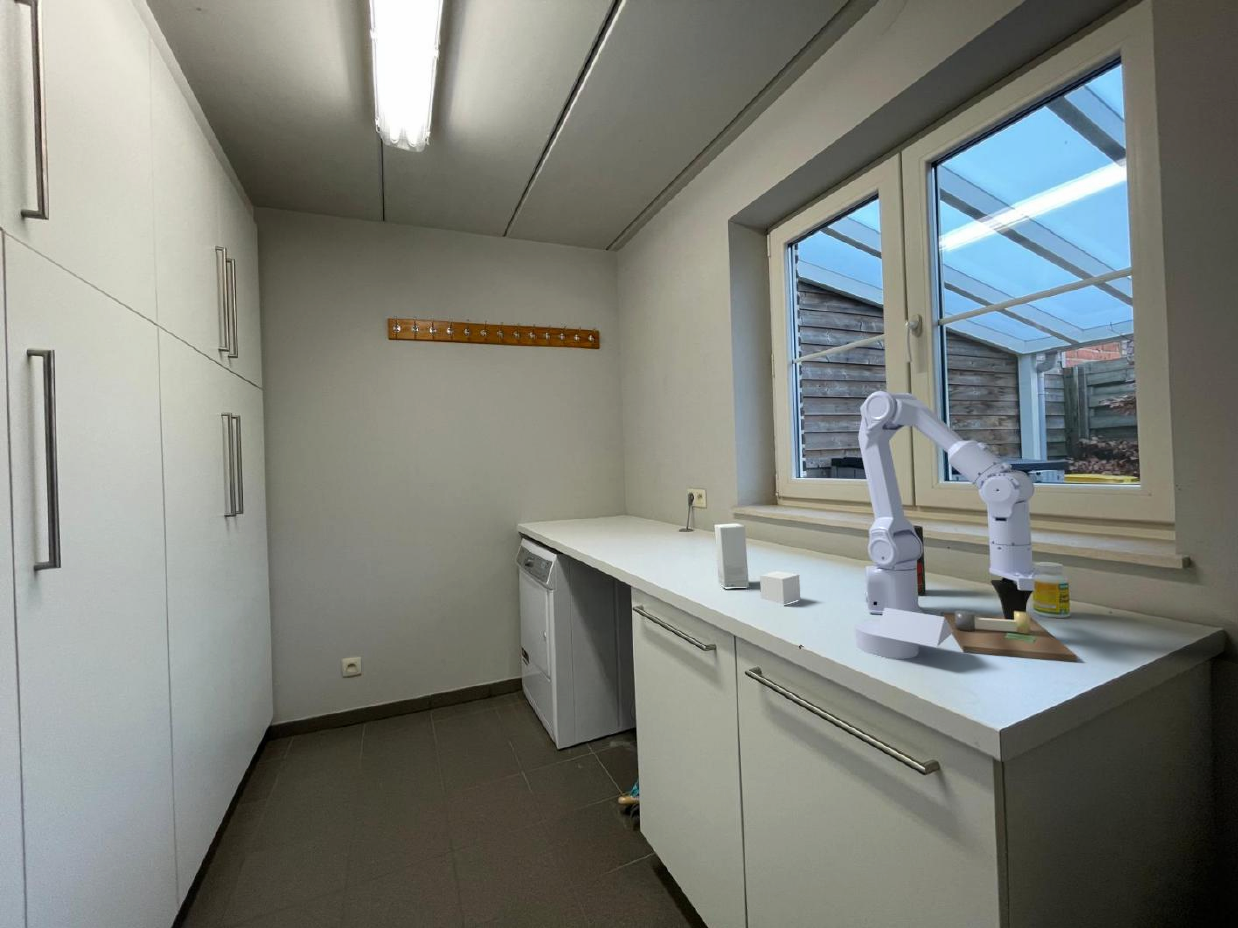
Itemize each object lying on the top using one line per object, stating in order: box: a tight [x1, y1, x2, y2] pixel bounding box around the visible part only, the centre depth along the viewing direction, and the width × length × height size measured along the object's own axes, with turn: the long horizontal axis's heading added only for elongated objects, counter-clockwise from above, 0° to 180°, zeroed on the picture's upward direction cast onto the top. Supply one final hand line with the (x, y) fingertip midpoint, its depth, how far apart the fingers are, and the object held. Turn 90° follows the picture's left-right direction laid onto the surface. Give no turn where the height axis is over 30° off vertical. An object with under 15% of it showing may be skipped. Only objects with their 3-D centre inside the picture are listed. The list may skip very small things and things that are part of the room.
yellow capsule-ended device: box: [954, 610, 1031, 634], centre depth 87 cm, size 10×3×3 cm, turn 67°
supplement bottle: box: [1032, 561, 1071, 619], centre depth 97 cm, size 5×5×10 cm
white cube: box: [759, 570, 801, 605], centre depth 115 cm, size 6×6×6 cm
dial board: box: [940, 611, 1078, 663], centre depth 87 cm, size 14×19×1 cm
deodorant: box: [913, 524, 927, 597], centre depth 117 cm, size 6×6×15 cm
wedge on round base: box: [855, 608, 954, 660], centre depth 82 cm, size 9×7×13 cm
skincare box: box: [714, 523, 750, 588], centre depth 131 cm, size 8×7×16 cm
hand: (1014, 623), depth 87 cm, fingers closed, pressing on yellow capsule-ended device
